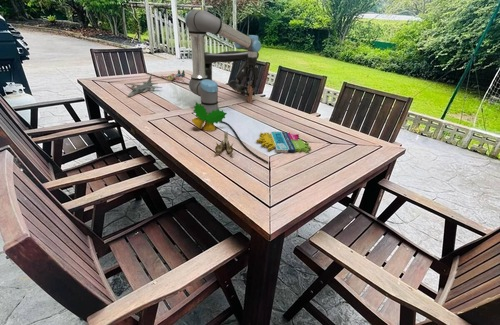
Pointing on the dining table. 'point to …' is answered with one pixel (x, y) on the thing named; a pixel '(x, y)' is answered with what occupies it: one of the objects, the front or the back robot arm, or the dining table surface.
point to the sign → (283, 142)
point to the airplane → (143, 87)
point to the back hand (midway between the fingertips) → (251, 94)
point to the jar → (250, 93)
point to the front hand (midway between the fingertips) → (250, 86)
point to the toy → (174, 76)
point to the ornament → (207, 117)
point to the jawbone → (224, 145)
